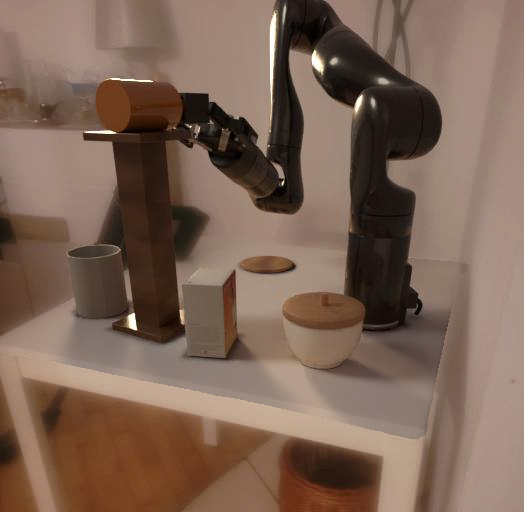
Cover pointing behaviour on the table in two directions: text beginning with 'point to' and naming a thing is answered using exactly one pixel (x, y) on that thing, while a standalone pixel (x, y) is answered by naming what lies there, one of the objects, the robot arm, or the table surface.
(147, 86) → the bottle
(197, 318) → the small box
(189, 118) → the dark grey block
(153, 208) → the stand
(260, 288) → the table surface
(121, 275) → the cup
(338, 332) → the trinket box
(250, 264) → the mat
